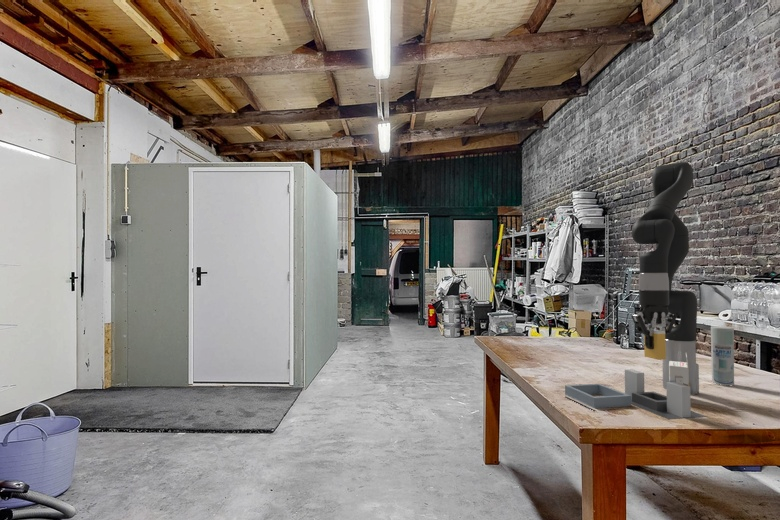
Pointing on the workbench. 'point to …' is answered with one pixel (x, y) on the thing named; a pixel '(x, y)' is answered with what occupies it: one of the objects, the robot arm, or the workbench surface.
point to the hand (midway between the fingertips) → (654, 348)
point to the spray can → (722, 355)
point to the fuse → (657, 346)
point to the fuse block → (660, 397)
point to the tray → (607, 400)
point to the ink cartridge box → (679, 372)
